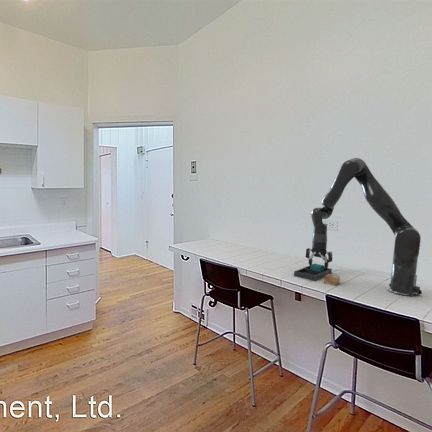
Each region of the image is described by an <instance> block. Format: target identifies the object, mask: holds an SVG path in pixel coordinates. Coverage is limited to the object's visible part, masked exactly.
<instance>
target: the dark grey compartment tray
mask: <svg viewBox="0 0 432 432" xmlns="http://www.w3.org/2000/svg"><path fill="white" fill-rule="evenodd" d="M310 266H311V265H307V266H305V267H302V268H300V269H296V270H294V271H293V272H294V273H293V276H294V277H297V278H302V279H306V280H310V281H312V282H313V281H317V280H320V279H322V278H325V275H327V274H332V273H333V268H329V267H328V268H326V269H325V268H324V272H320V271H315V270H311V269H310Z"/></svg>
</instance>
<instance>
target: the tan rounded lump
mask: <svg viewBox="0 0 432 432" xmlns="http://www.w3.org/2000/svg"><path fill="white" fill-rule="evenodd" d="M340 281H341V275H336V274H332V273H331V274H327V275H325V276H324V281H323V282H324V284H329V285H332V286H337V285H339V284H340Z"/></svg>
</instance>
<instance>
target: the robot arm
mask: <svg viewBox="0 0 432 432" xmlns="http://www.w3.org/2000/svg"><path fill="white" fill-rule="evenodd" d="M352 179H355V180H356V181H357V182H358V184H359V186H360V187H361V189H362V190H361V191H362V194H363V196H364V198H365V201H366V202H367V204H368V205H369V206H370V208H372V210H373V211H374V213H376V214H377V215H378V216H379V217H380V218H381V219H382V220H383V221H384V222H385V223H386V224H387V226H388V227H389V228H390V230H391V231H392V233H393V235H394V245H393V246H394V247H393V254H392V265H391V273H390V274H391V275H390V283H389V284H388V287H389V291H390V292H391V293H393V294H397V295H401V296H407V297H413V296H414V295H415V294H417V295H418V296H419V295H421V294H422V293H423V291H422V290H421V287H420V286H418V285H417V279H418V275H417V269H418V260H419V255H420V247H421V241H422V240H421V238H422V237H421V234H420V232H419V231H418V230H417V229H416V228H415V227H414V226H413V225H412V224H411V223H410V222H409V221H408V219H406V218H405V217H404V215H403V214H402V212H401V211H400V209H399V207H398V205H397V204H396V202H395V201H394V199H393V198H392V197H391V196H390V194H389V193H388V192H387V190H385V188H384V187H383V186H382V184H380V182H379V181H378V179H376V177H375V176H374V175H373V173H372V171H371V169H370V168H369V166H368V165H367V163H366V162H365V161H364V160H363V159H361V158H359V157H353V158H349V159H347V160H346V161H344V162H343V163H342V164H341V166H340V169H339V170H338V173H337V175H336V177H335V180H334V181H333V183H332V185H331V186H330V188H329V189H328V191H327V192H326V194H325V195H324V197H323V198H322V199H321V205H322V207H315V208H313V209H312V211H311V214H310V217H311V221H312V226H313V233H312V241H311V248H310V247H307V248H306V249H305V258H306V259H308V266H310V265H312V264H313V258H320V259H322V260H323V261H324V263H323V265H324V268H325V269H326V268H329V263H331V262H333V251H327V248H328V247H327V244H328V225H327V224H326V223H324V221H323V220H327V219H329V218H330V217H331V216H332V214H333V212H334V209H335V206H336V205H337V204H338V203H339V201H340V199H341V197H342V196H343V193H344V191H345V189H346V187H347V186H348V184H349V183H350V182H351V181H352ZM311 253H312V254H311ZM310 254H311V255H310Z"/></svg>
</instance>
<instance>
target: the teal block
mask: <svg viewBox="0 0 432 432" xmlns="http://www.w3.org/2000/svg"><path fill="white" fill-rule="evenodd" d="M309 266H310V265H309ZM310 269H311V270H315V271H320V272H324V264H319V263H312V265H311V266H310Z"/></svg>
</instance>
